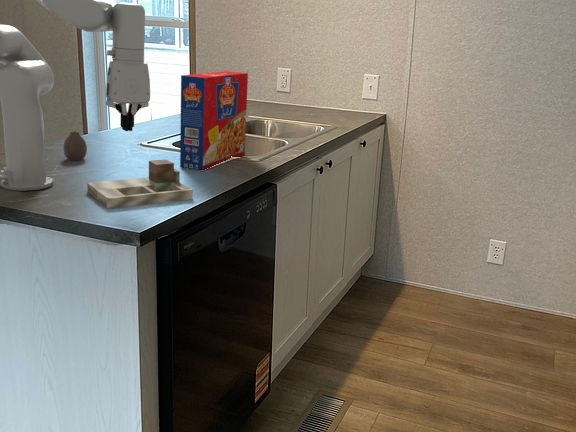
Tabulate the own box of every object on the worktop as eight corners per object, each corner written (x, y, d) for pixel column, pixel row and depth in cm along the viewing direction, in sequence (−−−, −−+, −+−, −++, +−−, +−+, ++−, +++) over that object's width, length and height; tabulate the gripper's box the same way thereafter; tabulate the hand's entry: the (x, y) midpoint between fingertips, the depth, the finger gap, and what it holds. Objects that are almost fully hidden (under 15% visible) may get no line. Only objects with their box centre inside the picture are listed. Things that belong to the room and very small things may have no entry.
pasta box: (202, 171, 193) (204, 77, 185) (180, 167, 196) (181, 75, 187) (244, 156, 218) (247, 73, 209) (224, 153, 220) (226, 71, 212)
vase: (59, 160, 195) (57, 132, 193) (73, 156, 201) (72, 129, 199) (77, 163, 193) (76, 134, 190) (91, 159, 199) (91, 131, 197)
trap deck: (108, 208, 151) (107, 186, 149) (87, 192, 163) (86, 171, 161) (192, 199, 163) (192, 178, 161) (167, 184, 175) (167, 165, 173)
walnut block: (156, 183, 166) (156, 164, 164) (148, 178, 170) (148, 160, 168) (173, 181, 169) (173, 163, 167) (166, 177, 173) (166, 159, 171)
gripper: (103, 56, 148) (102, 133, 154) (163, 58, 156) (160, 132, 162) (93, 53, 154) (93, 127, 159) (151, 55, 162) (149, 127, 168)
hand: (127, 130), depth 161 cm, fingers closed
